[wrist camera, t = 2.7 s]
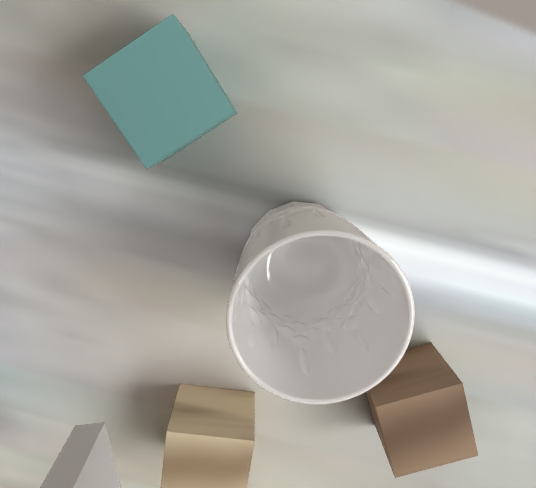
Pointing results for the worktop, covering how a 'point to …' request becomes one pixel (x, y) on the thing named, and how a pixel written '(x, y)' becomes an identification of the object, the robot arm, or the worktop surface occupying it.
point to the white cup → (317, 307)
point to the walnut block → (422, 413)
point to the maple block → (209, 438)
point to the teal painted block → (160, 92)
